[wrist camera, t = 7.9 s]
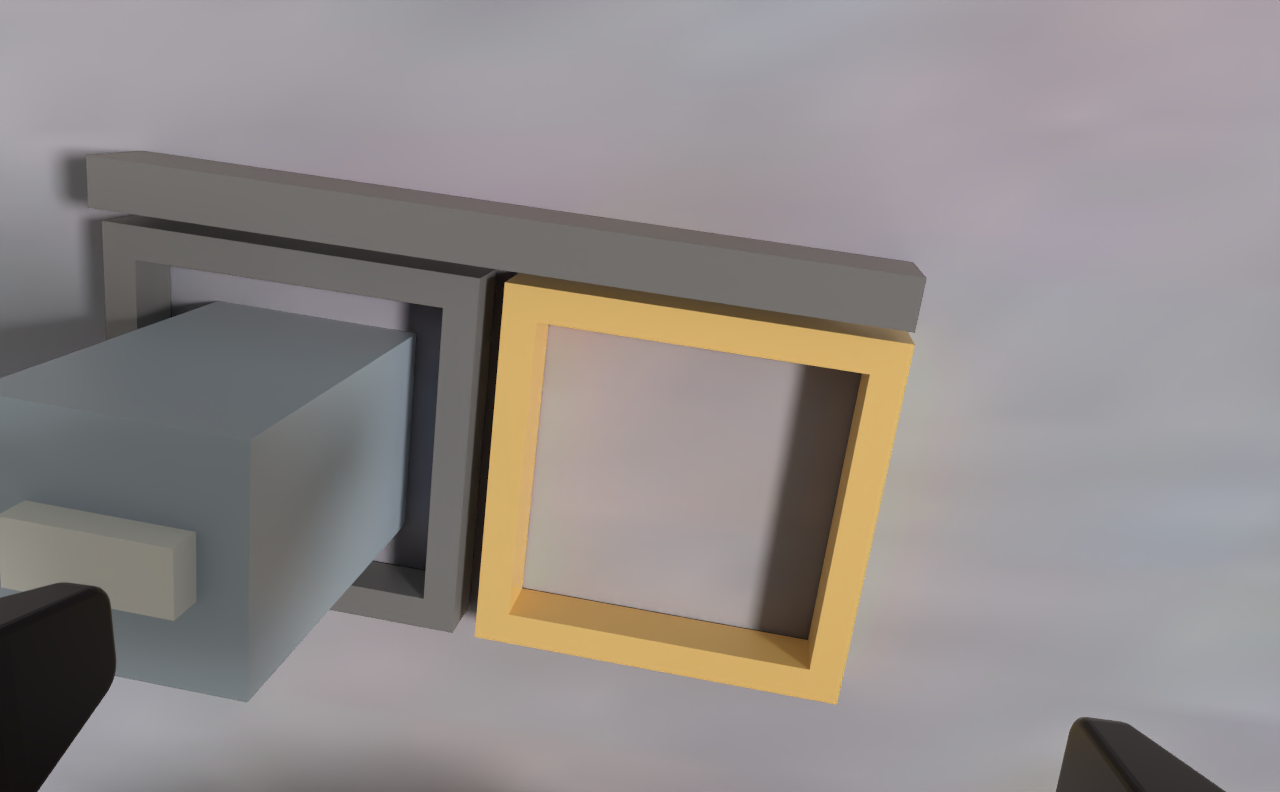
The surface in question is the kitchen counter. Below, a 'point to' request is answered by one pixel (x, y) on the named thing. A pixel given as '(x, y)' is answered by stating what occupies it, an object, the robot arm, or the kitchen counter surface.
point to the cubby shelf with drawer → (538, 372)
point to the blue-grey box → (208, 483)
